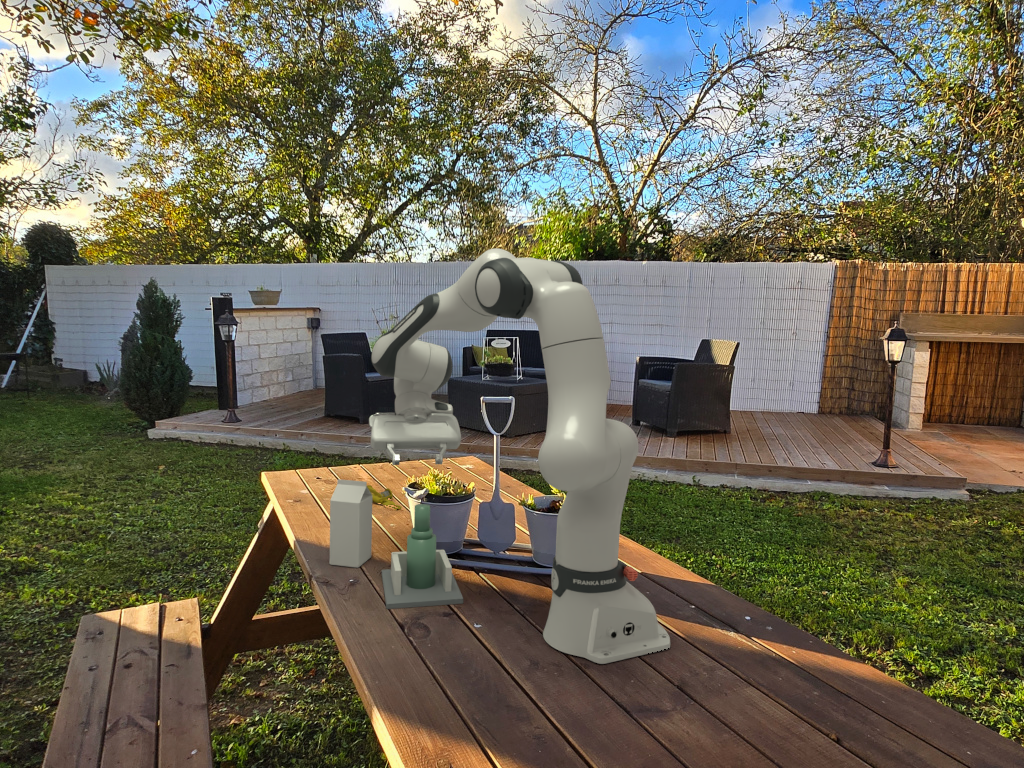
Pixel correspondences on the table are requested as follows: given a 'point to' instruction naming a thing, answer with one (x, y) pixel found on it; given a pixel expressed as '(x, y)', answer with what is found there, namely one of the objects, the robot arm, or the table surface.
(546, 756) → the table surface
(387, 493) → the sprinkler
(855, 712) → the table surface
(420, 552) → the bottle
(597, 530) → the robot arm
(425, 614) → the table surface
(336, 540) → the milk carton
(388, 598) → the bottle holder
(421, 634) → the table surface
